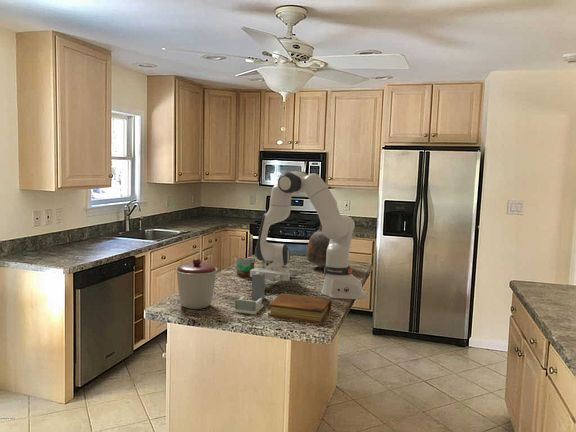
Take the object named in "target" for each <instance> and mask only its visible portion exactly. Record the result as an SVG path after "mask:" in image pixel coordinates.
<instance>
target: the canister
mask: <svg viewBox="0 0 576 432" xmlns="http://www.w3.org/2000/svg"><path fill="white" fill-rule="evenodd" d="M217 271H219V269H218V268H217V267H216V266H214V265H212V264H210V263H204V262H202V260H201V259H200V258H194V259H193V260H192V263H191V262H189V263H184V264H181V265H179V266H177V267H176V268H175V272H176V276H177V277H176V279H177V288H178V296H179V303H180V304H181V306H182V307H183V308H187V309H189V310H190V309H191V310H201V309H205V308H208V307H209V306H210V305H211V303H212V301H213V297H214V291H215V284H216V275H217Z"/></svg>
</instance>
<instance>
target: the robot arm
mask: <svg viewBox="0 0 576 432" xmlns="http://www.w3.org/2000/svg"><path fill="white" fill-rule="evenodd" d="M303 192H304V193H305V194H306V196H307V198H308V199H309V201H310V203H311V204H312V207H314V209H315V212H316V213H317V216H318V218H319V221H320V222H321V225H322V232H323V234H324V236H325V237H326V238H328V239H330V242H329V245H328V247H327V252H326V265H325V268H324V269H323V270H324V272H323V273H324V280H323V285H322V289H321V294H322V295H325V296H327V297H329V298H330V299H341V300H342V299H343V300H344V299H346V300H364V299H366V298H367V292H366V291H364V290H363V284H362V282H361V281H360V280H359V279H358V278H357V277H356V276H355V275H353V267H350V266H349V257H350V256H349V255H350V254H349V253H350V247H351V245H352V244H351V243H352V239H353V233H354V230H355V228H356V226H355V225H356V224H355V221H354V219H353V218H352V217H350V216H348V215H346V214H341V213H340V211H339V208H338V203H337V200H336V198H335V196H334V195H333V194H332V193H333V192H331V190H330V188H329V187H328V185H327V184H326V182H325V181H324V180H323V179H322V177H321V176H320V175H319V174H318V173H316V172H315V173H313V172H312V173H307V172H306V171H297V170H294V171H289V172H288V171H287V172H284V173H283V174H281V175H280V176H279V177H278V180H277V183H276V184H274V185H273V186H272V188H271V192H270V199H269V208H268V210H267V212H266V213H264V214H263V216H262V219H261V222H260V226H259V227H260V228H259V232H258V237H257V242H256V245H255V249H254V256H255V258H257V261H261V262H262V261H273V262H272V263H271V264H269V265H268V266H267V267H266V268H265V269H263V268H262V267H261V268H260V267H254V269H252V270H250V278H252V275H253V274H254V273H256V272H260V273H265V280H268V281H271V282H275V281H281V282H288V281H290V278H291V277H290V275H291V274H290V273H291V270H290V269H291V267H288V265H289V263H290V259H291V252H290V249H289V247H288V245H286V244H285V243H273V242H268V241H267V238H268V234H269V229H270V227H271V226H272V225H275V224H276V223H281V222H283V221H285V220H287V218H289V216H290V214H291V211H292V209H291V208H292V196H293V195H294V194H299V193H303ZM320 222H319V223H320Z"/></svg>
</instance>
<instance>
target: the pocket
mask: <svg viewBox="0 0 576 432" xmlns="http://www.w3.org/2000/svg"><path fill="white" fill-rule="evenodd" d="M262 308H264V304H263V300H262V298H259V299H258V300H257V301H256V300H250V299H246V296H245V295H243V296H241V297H240V298H235V299H234V308H233V311H232V312H235V313H243V314H250V315H251V314H252V315H257V314H258V313H259V312H260V311H261V310H262Z"/></svg>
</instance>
